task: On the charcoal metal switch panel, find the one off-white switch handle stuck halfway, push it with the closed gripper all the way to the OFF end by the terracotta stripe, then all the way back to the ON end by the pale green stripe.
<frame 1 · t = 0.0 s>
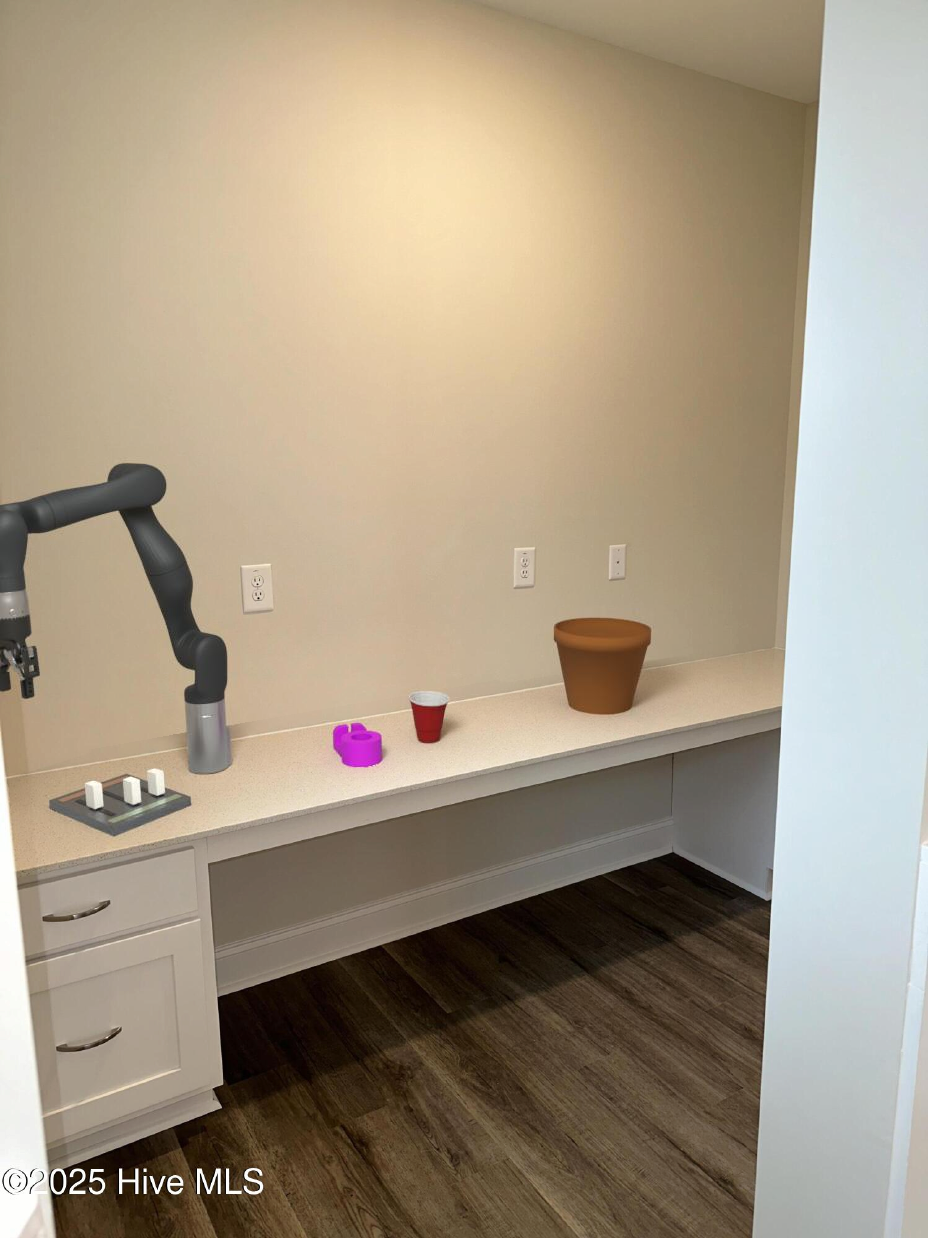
hand: (16, 694, 180), 29 cm above the table, tool pointing down, fingers open, 8 cm apart
switch 2: (155, 781, 200), point 5 cm above the table, slide at 4.5 cm
plastic cup: (429, 740, 241), on the table
switch panel: (121, 807, 198), on the table
flowerpot: (599, 705, 272), on the table
switch middle: (132, 790, 195), point 5 cm above the table, slide at 4.5 cm
switch 1: (94, 794, 193), point 5 cm above the table, slide at 0.0 cm
tape dispenser: (358, 757, 229), on the table
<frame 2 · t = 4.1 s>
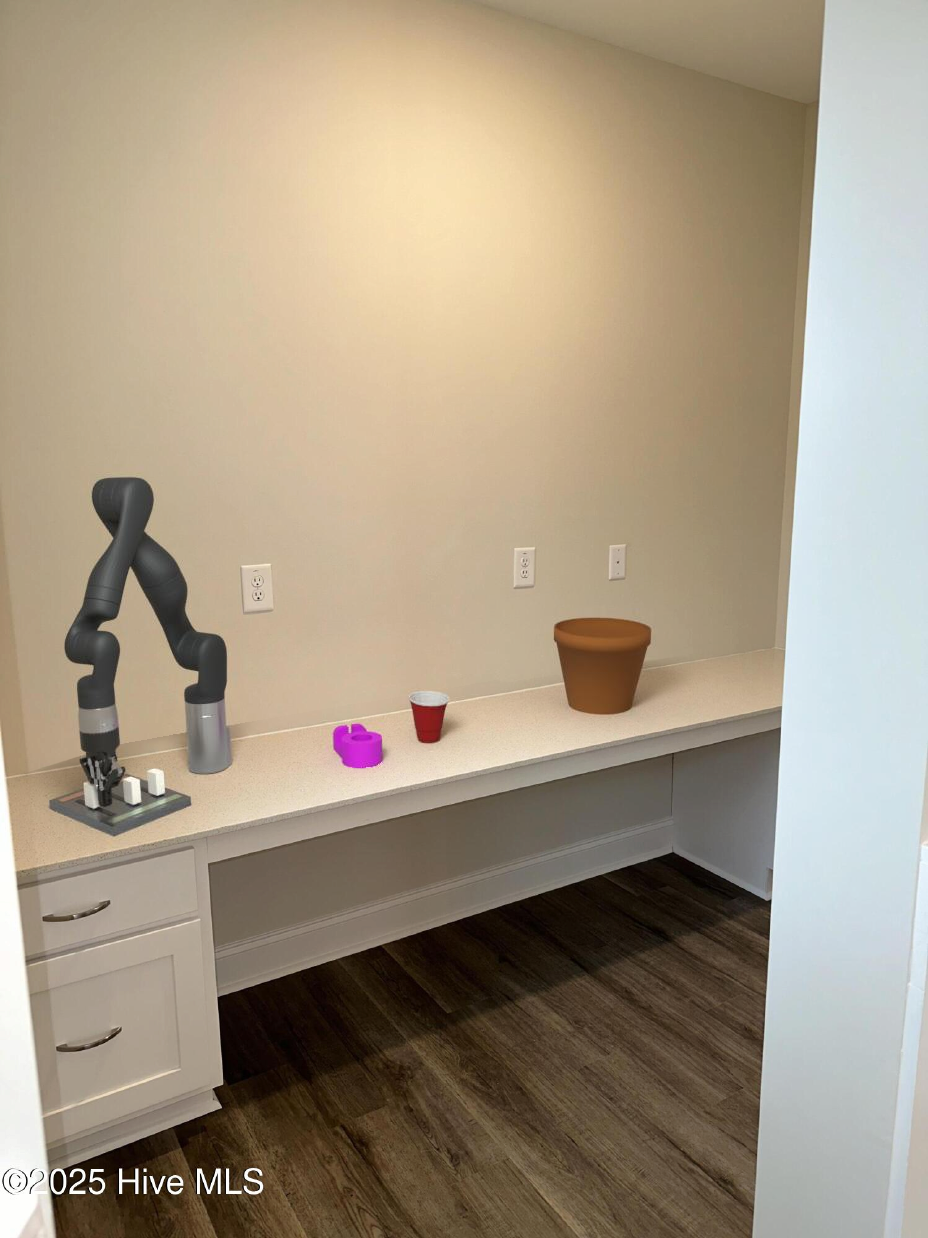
hand: (105, 805, 191), 3 cm above the table, tool pointing down, fingers closed
switch 1: (92, 794, 193), point 5 cm above the table, slide at -0.5 cm, touching gripper
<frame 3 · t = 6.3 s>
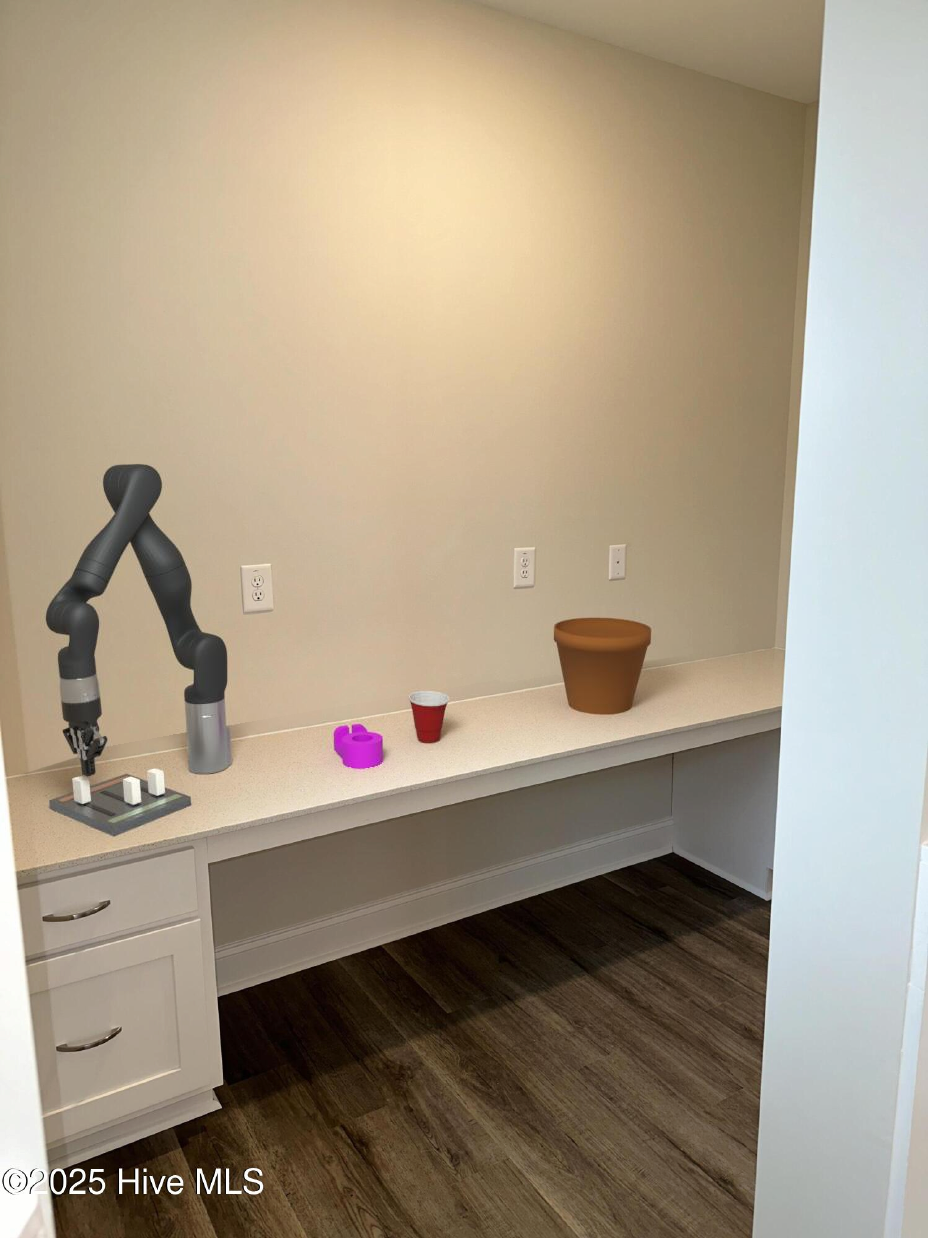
hand: (88, 774, 193), 9 cm above the table, tool pointing down, fingers closed
switch 1: (81, 789, 195), point 5 cm above the table, slide at -4.6 cm
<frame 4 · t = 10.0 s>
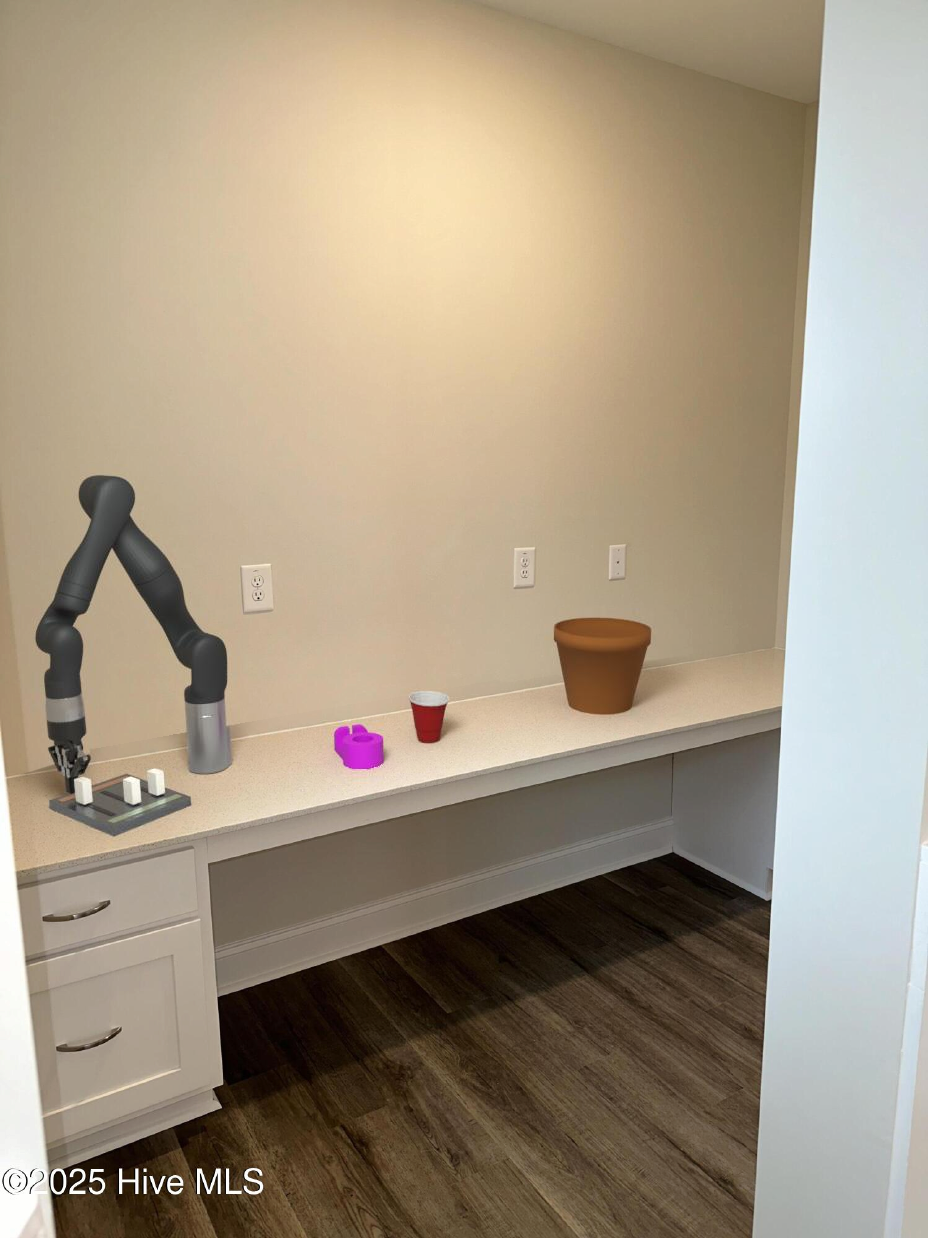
hand: (72, 792, 198), 3 cm above the table, tool pointing down, fingers closed
switch 1: (83, 790, 195), point 5 cm above the table, slide at -3.9 cm, touching gripper
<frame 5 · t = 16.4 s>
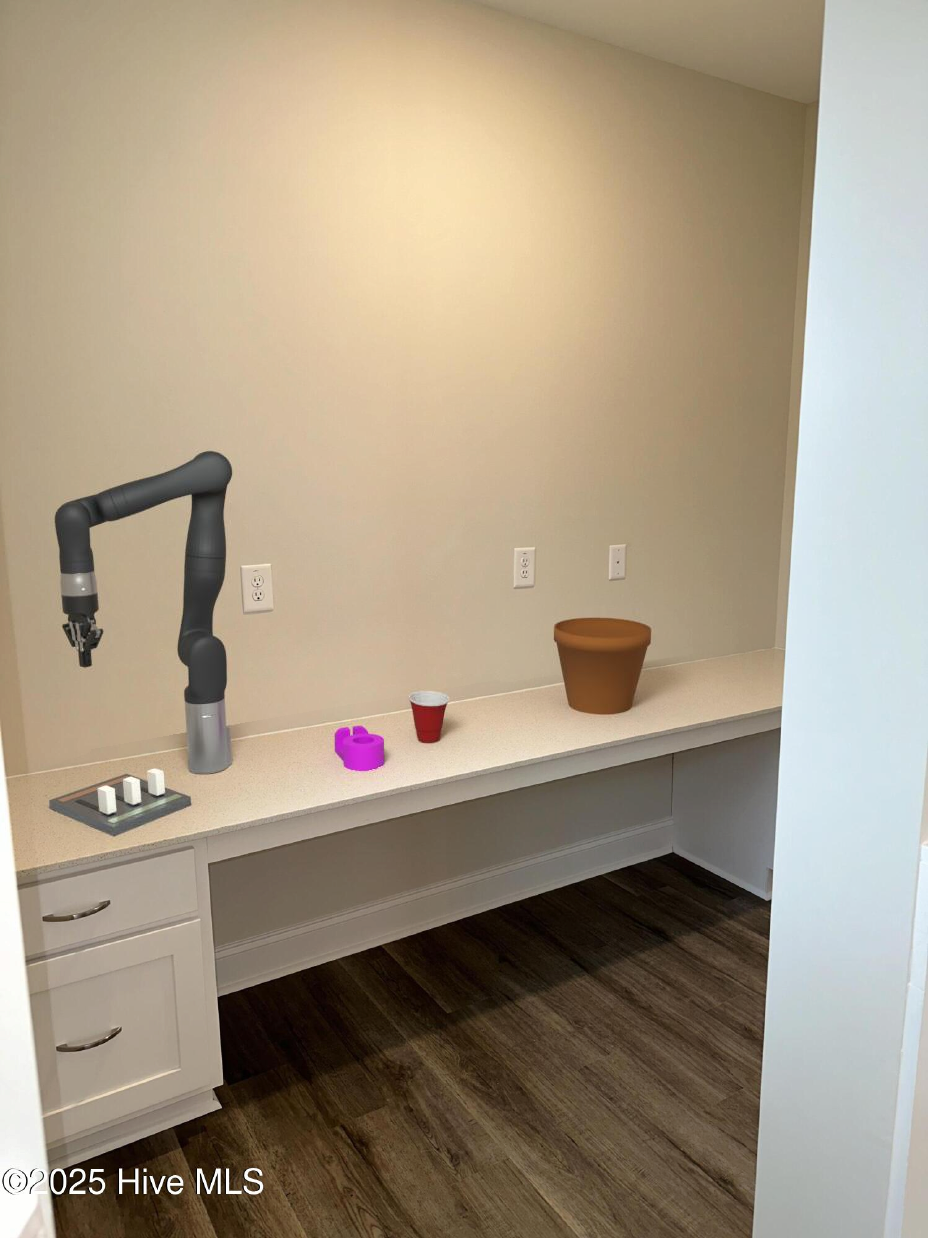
hand: (85, 666, 209), 27 cm above the table, tool pointing down, fingers closed
switch 1: (106, 799, 190), point 5 cm above the table, slide at 4.6 cm
at the end: switch 1 slide at 4.6 cm; switch middle slide at 4.5 cm; switch 2 slide at 4.5 cm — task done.
